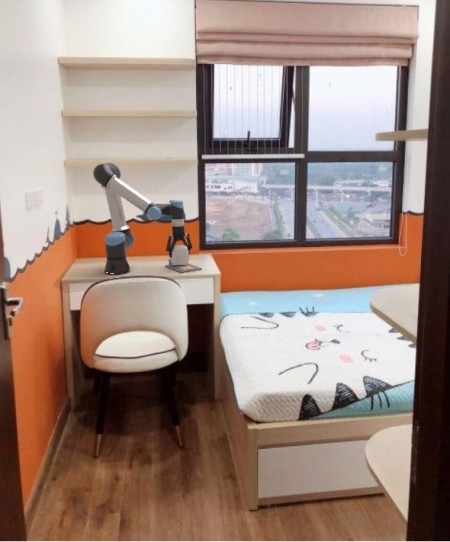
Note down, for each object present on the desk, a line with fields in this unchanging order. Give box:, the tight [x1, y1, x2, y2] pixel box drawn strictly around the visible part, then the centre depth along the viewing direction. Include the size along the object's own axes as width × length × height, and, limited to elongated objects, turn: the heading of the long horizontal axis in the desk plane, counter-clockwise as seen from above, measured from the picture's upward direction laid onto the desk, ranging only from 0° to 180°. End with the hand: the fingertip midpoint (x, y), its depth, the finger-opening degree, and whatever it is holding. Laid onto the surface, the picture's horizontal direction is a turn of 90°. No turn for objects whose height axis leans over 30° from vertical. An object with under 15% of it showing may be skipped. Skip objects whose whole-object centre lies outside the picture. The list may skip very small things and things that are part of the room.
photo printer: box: [172, 244, 189, 265], centre depth 323 cm, size 10×4×12 cm, turn 97°
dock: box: [164, 258, 203, 274], centre depth 321 cm, size 14×22×4 cm, turn 32°
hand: (179, 261), depth 324 cm, fingers closed on photo printer, 10 cm apart
